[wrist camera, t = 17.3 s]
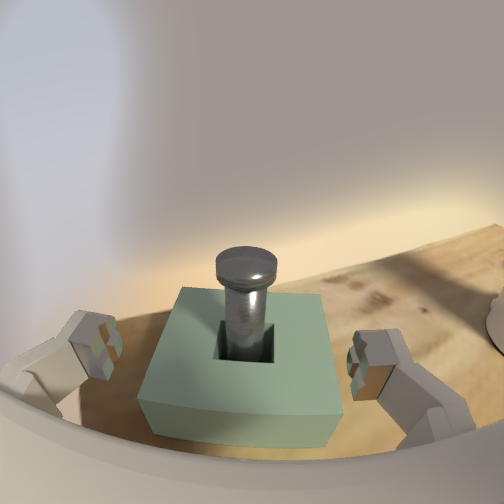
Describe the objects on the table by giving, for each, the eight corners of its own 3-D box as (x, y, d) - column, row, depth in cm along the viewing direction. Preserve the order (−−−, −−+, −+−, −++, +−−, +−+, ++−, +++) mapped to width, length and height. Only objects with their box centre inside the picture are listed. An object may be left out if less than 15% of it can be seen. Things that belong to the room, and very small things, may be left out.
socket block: (312, 335, 34) (320, 294, 31) (325, 447, 21) (343, 413, 18) (187, 327, 35) (182, 286, 32) (153, 433, 22) (136, 398, 19)
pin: (266, 366, 30) (276, 247, 23) (265, 400, 26) (278, 278, 19) (224, 364, 30) (220, 244, 23) (219, 397, 26) (210, 274, 20)
